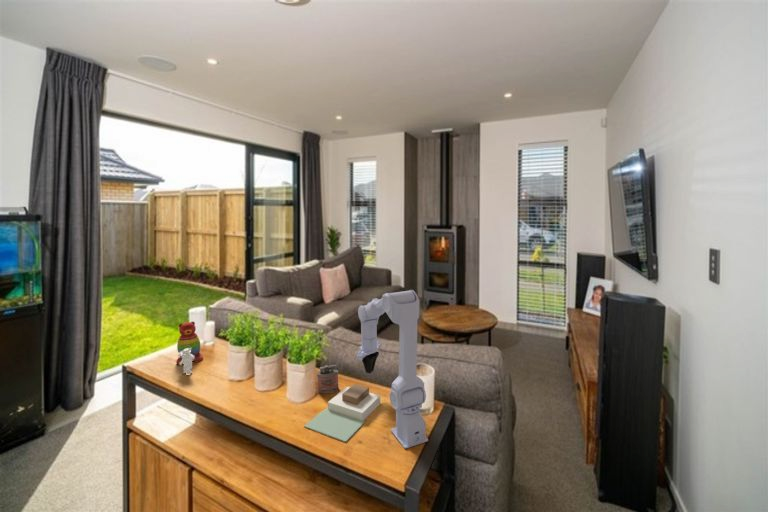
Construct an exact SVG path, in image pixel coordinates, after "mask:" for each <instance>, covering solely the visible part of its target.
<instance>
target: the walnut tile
mask: <svg viewBox="0 0 768 512" xmlns="http://www.w3.org/2000/svg"><path fill="white" fill-rule="evenodd" d="M349 387H350V388H349V389H348V390H347V391H345V392H344V393H343V394H342V401H345V402H348V403H351V404H355V405H358V404H359V403H360V402H361V401H362V400H363V399H364V398H366V397H367V396H368V395H369V393H370V387H368V386H365V385H360V384H358V383H354V384H353V385H351V386H349Z"/></svg>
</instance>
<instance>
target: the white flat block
mask: <svg viewBox="0 0 768 512" xmlns="http://www.w3.org/2000/svg"><path fill="white" fill-rule="evenodd" d="M350 387H351V386H346V387H345V388H344V389H343V390H341V391H340V392H338V393H337V394H336V395H335V396H333V397H332V398H331V399H329V401H328V402H327V409H329V410H332V411H335V412H338V413H341V414H344V415H347V416H350V417H353V418H356V419H360V420H363V421H365V420H366V419H367V418H369V416H370V415H371V414H372V413H373V412H374V411H375V410H376V408H377V407H378V406H379V405H381V395H380V394H376V393H372V392H369V395H368V396H367V397H366V398H364V399H363V400H362V401H361V402H360V403H359V404H358V405H355V404H351V403H348V402H345V401H342V394H343V393H344V392H345V391H347V390H348V389H349V388H350Z"/></svg>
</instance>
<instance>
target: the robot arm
mask: <svg viewBox="0 0 768 512" xmlns="http://www.w3.org/2000/svg"><path fill="white" fill-rule="evenodd" d="M385 313H386V315H387V316H388V318H389V319H390V320H391V322H392V323H394V324H396V325H398V326H399V335H398V336H399V340H398V341H399V342H398V345H399V348H398V349H399V350H398V352H399V353H398V376H397V377H396V378H395V379H394V380H393V382H392V383H391V389H390V392H389V402H390V404H391V407H392V408H393V409H394V410H395V427H392V428H391V429H390V431H391V433H392V434H393V435H394V436H395V439H396V440H397V441H398V442H399V443H400V445H401V446H402V447H403V449H409V448H411V447H415V446H418V445H421V444H424V443H426V442H428V441H429V439H428V437H427V436H426V429H427V428H426V421H425V419H424V417H423V415H422V414H421V408H423V404H424V403H425V402H426V399H427V398H426V397H427V393H426V390H425V389H426V388H425V382H424V381H423V379H422V378H421V377H419V376H417V368H418V367H417V359H418V357H417V356H418V319H419V318H420V298H419V296H418V294H417V293H416V291H414V289H409V290H405V291H397V292H396V291H395V292H385V293H384V294H382V297H381V298H380V299H379V298H377V297H374V298H372V300H371V301H368V302H367V304H365V305H359V307H358V309H357V314H358V319H359V321H360V329H361V331H360V332H361V333H360V336H361V337H360V339H361V340H360V341H361V345H360V346H359V347H358V349H359V351H358V353H357V354H356V361H360V362H362V364H363V366H364V371H365V373H366V374H372V373H373V372H374V370H375V366H376V362H377V360H378V357H379V355H380V352H379V351H378V350H379V348H381V347H382V342H381V341H378V335H377V334H378V333H377V332H378V331H377V330H378V328H377V325H379V319H380V316H382V315H384V314H385Z"/></svg>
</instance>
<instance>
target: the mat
mask: <svg viewBox="0 0 768 512" xmlns="http://www.w3.org/2000/svg"><path fill="white" fill-rule="evenodd" d="M365 423H366V421H365V420H364V421H363V420H360V419H356V418H353V417H350V416H347V415H344V414H341V413H338V412H335V411H332V410H329V409H328V408H324V409H323V410H322V411H320V413H318V414H317V415H315V416H314V417H313V418H312V419H310V420H309V421H308V422H307V423H305V424H304V425H303V427H304V428H305V427H306V429H308V428H309V430H312V431H314V432H316V433H320V434H322V435H325V436H328V438H329V437H330V438H332V439H335V440H337V441H340V442H343V443H347V442H348V441H349V439H351V437H353V435H355V434H356V433H357V432H358V431H359V429H361V428H362V427H363V425H364V424H365Z"/></svg>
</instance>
